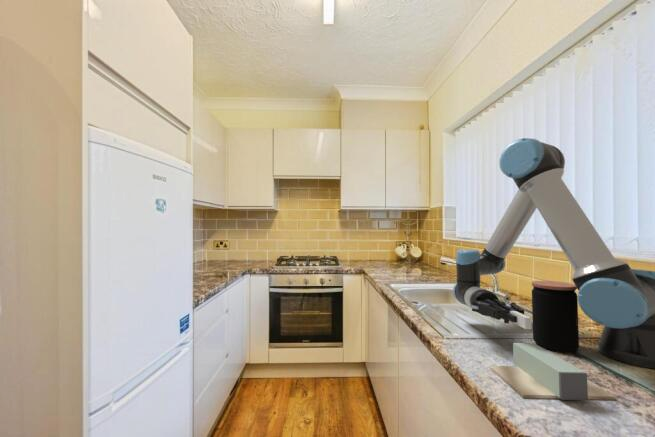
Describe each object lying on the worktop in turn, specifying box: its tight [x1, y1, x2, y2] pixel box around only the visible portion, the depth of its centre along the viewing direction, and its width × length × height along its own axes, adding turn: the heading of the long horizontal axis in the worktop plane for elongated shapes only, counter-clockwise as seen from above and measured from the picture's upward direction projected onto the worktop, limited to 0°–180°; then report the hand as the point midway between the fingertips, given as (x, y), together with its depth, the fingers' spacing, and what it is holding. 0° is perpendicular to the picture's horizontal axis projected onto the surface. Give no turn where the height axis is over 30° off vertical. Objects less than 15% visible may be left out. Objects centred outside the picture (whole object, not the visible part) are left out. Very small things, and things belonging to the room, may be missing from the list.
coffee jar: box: [531, 280, 580, 354], centre depth 88 cm, size 11×11×18 cm
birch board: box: [489, 365, 617, 401], centre depth 67 cm, size 18×13×1 cm
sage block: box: [512, 342, 589, 401], centre depth 67 cm, size 5×5×16 cm
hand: (528, 323), depth 73 cm, fingers closed
